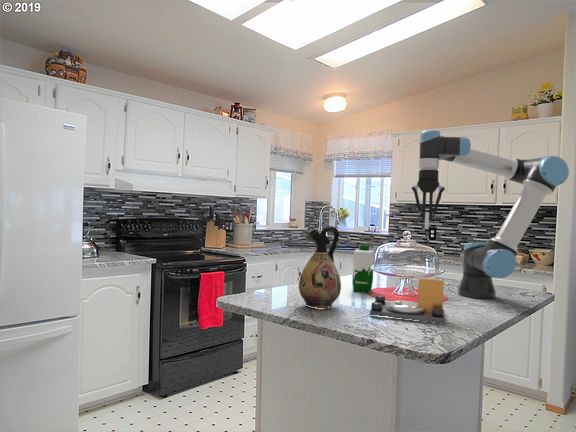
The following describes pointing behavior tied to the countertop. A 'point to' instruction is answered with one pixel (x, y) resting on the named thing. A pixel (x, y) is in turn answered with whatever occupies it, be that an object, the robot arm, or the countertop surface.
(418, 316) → the tribrach plate
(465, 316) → the countertop surface
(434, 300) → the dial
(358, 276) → the milk carton
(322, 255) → the ceramic jug
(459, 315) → the countertop surface
